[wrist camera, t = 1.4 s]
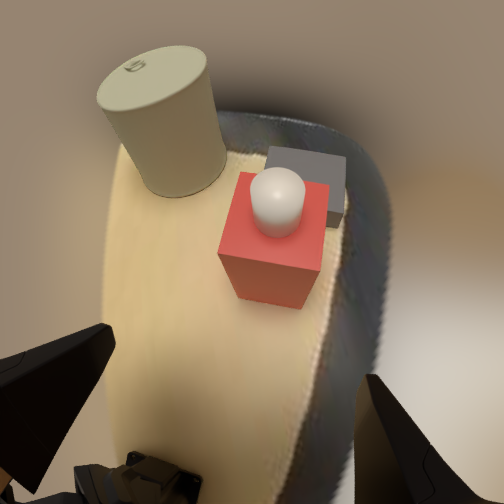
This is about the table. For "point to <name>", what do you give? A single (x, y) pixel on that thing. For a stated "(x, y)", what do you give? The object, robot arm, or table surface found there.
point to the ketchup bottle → (274, 236)
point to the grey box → (315, 174)
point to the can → (166, 119)
